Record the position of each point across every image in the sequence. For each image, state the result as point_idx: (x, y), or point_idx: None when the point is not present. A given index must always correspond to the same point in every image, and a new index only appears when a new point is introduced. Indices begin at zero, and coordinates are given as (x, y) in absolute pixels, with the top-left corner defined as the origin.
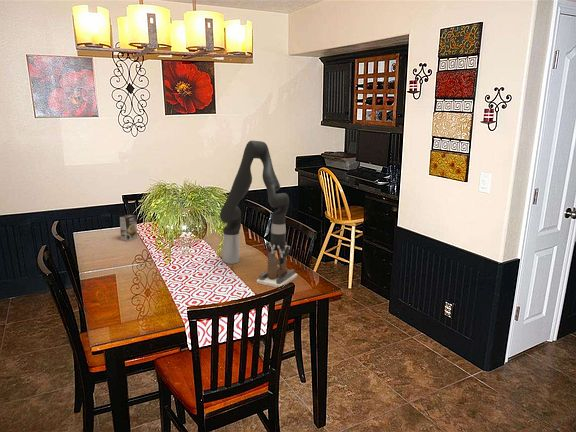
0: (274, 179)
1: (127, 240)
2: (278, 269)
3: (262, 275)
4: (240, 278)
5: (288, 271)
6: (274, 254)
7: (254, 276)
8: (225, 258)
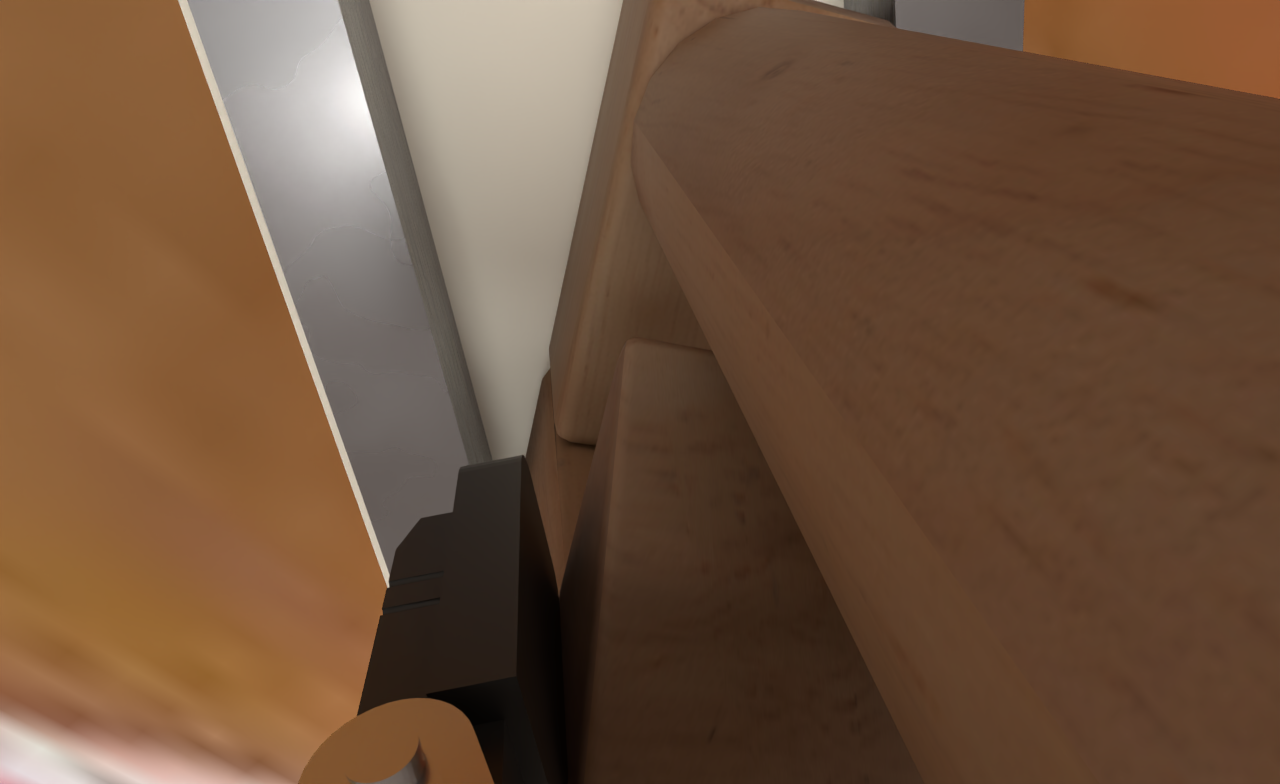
0: None
1: None
2: (702, 335)
3: None
4: (8, 715)
5: (913, 16)
6: (503, 763)
7: (93, 466)
8: None
